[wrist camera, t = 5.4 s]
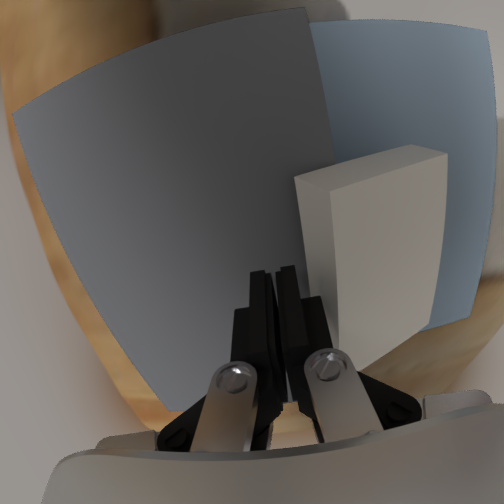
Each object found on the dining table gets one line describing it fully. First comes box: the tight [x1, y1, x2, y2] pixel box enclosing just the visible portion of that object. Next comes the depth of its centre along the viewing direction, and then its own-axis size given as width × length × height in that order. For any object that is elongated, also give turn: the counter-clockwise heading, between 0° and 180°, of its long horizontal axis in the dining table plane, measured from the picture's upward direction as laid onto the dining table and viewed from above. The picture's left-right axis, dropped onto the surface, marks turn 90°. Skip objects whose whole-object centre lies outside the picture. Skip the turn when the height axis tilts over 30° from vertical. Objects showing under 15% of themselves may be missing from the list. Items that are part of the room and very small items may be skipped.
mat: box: [309, 20, 497, 333], centre depth 15 cm, size 20×11×1 cm, turn 12°
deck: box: [12, 7, 335, 411], centre depth 15 cm, size 20×12×4 cm, turn 12°
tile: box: [294, 144, 448, 371], centre depth 12 cm, size 9×6×2 cm, turn 11°
